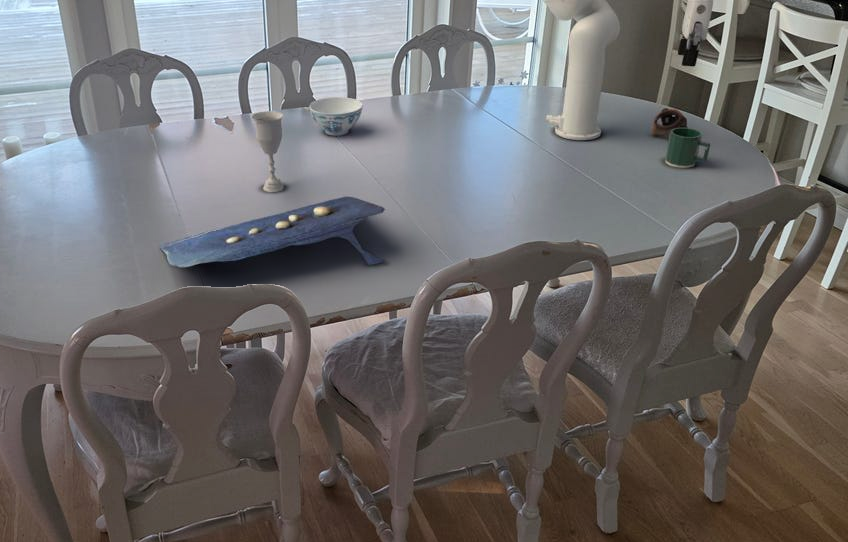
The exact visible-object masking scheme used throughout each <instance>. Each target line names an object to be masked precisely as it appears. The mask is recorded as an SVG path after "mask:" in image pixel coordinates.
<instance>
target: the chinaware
mask: <svg viewBox="0 0 848 542" xmlns="http://www.w3.org/2000/svg"><path fill="white" fill-rule="evenodd" d="M363 106H364V105H363V103H362V102H361V101H360V100H358V99H356V98H351V97H343V96H341V97H340V96H333V97H325V98H319V99H317V100H314V101H311V103H310V104H309V111H310V114H311V117H312V119H313V121H314V122H315V123H316V125H317V126H318V127H319V128H321V129H322V130H324V131H325V134H327V135H329V136H338V137H339V136H344V135H347V134H348V133H349V131H350V130H351V128H353V127H354V126H355V125H356V124H357V122H358V121H359V119H360V117H361V115H362V111H363Z"/></svg>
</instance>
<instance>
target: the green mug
mask: <svg viewBox="0 0 848 542" xmlns="http://www.w3.org/2000/svg"><path fill="white" fill-rule="evenodd" d="M702 137H703V134H702V132H701V131H700V130H697V129H695V128H689V127H688V128H674V129H672V130H671V131H670V134H669V136H668V142H667V147H666V152H665V157H664V158H665V164H666V165H669V166H670V167H674V168H680V169H689V168H692V167H694V166H695V165H696V163H697V162H701V163H706V162H707V161H708V158H709V157H708V156H709V152H710V149H711V143H710V142H707V141H703V140H702ZM700 147H705V150H704V153H703V156H699V150H700Z"/></svg>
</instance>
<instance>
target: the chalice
mask: <svg viewBox="0 0 848 542" xmlns="http://www.w3.org/2000/svg"><path fill="white" fill-rule="evenodd" d="M283 117H284V114H282V113H281V112H278V111H272V110H271V111H269V110H267V111H259V112H255V113H254V114H252V116H251V119H252V120H253V122H254V127H255V138H256V140H257V143H258V144H259V147H260V148H261V150H262V151H263V153H264V154H265V155H268V161H267V163H268V165H269V167H268V169H267V170H268V171H269V174H270V175H269V177H267V178H266V180H265V181H264V186H263V188H262V189H263V191H264V192H267V193H277V192H281V191H283V190H284V189H285V186H284V185H283V182H282V181H281V179H280V178H279V177H277V176H276V175H275V171H276V170H277V168H275V166H274V165H275V162H276V161H275V159H274V155H275V154H277V152H278V150H279V148H280V145H281V143H282V138H283V128H282V119H283Z"/></svg>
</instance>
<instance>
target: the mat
mask: <svg viewBox="0 0 848 542" xmlns="http://www.w3.org/2000/svg"><path fill="white" fill-rule="evenodd" d="M384 211H386V208H385V207H384V206H381V205H378V204H375V203H372V202H369V201H367V200H363V199H360V198H357V197H354V196H342V197H339V198H334V199H329V200H325V201H321V202H317V203H314V204H308V205H306V206H302V207H298V208H295V209H292V210H291V209H290V210H286V211H284V212H280V213H276V214H272V215H268V216H264V217H260V218H256V219H252V220H249V221H247V220H246V221H244V222H240V223H238V224H237V223H236V224H233V225H229V226H225V227H222V228H223V229H222V228H219V229H220V230H216V231H212V230H210V231H211V232H208V231H207V232H208V233H206V234H204V233H205V232H206V231H205V232H201V233H198V234H195V235H191V236H190V235H189V236H186V237H182V238H179V239H175V240H172V241H169V242H165V243H162V244H160V245H158V247H159V248H161V250H162V252H164V254H166V259H167V261H168V263H169V265H170V266H175V267H178V268H187V267H192V266H195V265H198V264H206V263H211V262H212V263H213V262H229V261H231V262H233V261H238V260H242V259H245V258H250V257H251V258H252V257H255V256H258V255H263V254H264V255H265V254H268V253H270V252H275V251H279V250H281V249H284V248H287V247H290V246H303V245H309V244H314V243H319V242H320V243H321V242H322V241H324V240H327V239H331V238H342V239H345V240H347V241H349V242H350V244H352V246H353V247H355V248H356V250H357V251H358V252H359V253H360V254H361V255H362V256H363V258H364V259H365V262H366V264H367V265H368V266H373V265H377V264H381V263H384V262H386V260H383V259H380V258H379V257H376V256H375V255H373V254H371V253H369V252H367V251H365V250H364V249H363V248H362V247H361V245H360V243H359V241H358V240H357V238H356V235H355V234H354V233H353V232H354V231H353V230H354V228H355V226H356V225H358V224H360V223H361V222H364V221H365V220H366V219H368V218H370V217H374V216H376V215H380V214H383V213H384ZM200 234H203V235H200ZM197 235H200V236H198V237H194V238H190V237H192V236H197ZM188 238H190V239H188ZM183 239H188V240H184V241H182V242H179V243H175V242H177V241H180V240H183ZM170 243H175V244H172V245H171V246H166V245H169V244H170ZM161 246H166V247H161Z"/></svg>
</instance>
